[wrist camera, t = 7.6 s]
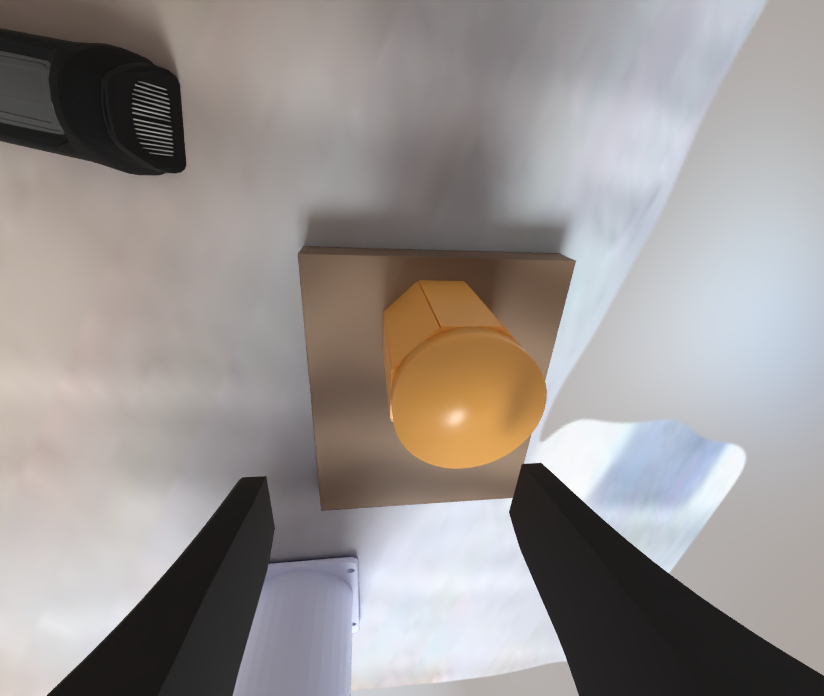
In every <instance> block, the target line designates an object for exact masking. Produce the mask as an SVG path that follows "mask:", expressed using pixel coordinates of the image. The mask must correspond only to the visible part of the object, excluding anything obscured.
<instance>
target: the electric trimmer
mask: <svg viewBox="0 0 824 696" xmlns="http://www.w3.org/2000/svg"><path fill="white" fill-rule="evenodd" d="M0 141H3V142H7V143H11V144H16V145H20V146H25V147H29V148H34V149H38V150H43V151H47V152H52V153H56V154H61V155H65V156H70V157H74V158H78V159H83V160H87V161H92V162H95V163H99V164H102V165H105V166H108V167H111V168H114V169H117V170H120V171H123V172H126V173H129V174H135V175H162V174H164V173H179V172H182V171H183V170H184V169H185V167H186V155H185V142H184V130H183V117H182V105H181V93H180V84H179V82H178V80H177V78H176V76H175V75H173V74H172V73H171V72H170V71H169V70H166V69H164V68H161V67H158V66H155V65H154V64H153V63H152V62H151V61H150V60H148V59H146V58H144V57H142V56H140V55H137V54H135V53H133V52H130V51H128V50H126V49H123V48H119V47H116V46H112V45H108V44H98V43H78V42H70V41H65V40H60V39H54V38H49V37H43V36H38V35H33V34H27V33H22V32H17V31H11V30H6V29H0Z"/></svg>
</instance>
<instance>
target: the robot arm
mask: <svg viewBox="0 0 824 696" xmlns="http://www.w3.org/2000/svg"><path fill="white" fill-rule="evenodd" d="M509 513H510V517H511V520H512V524H513V527H514V531H515V534H516V537H517V540H518V543H519V547H520V549H521V552H522V554H523V557H524V559H525V561H526V564H527V566H528V568H529V571H530V573H531V575H532V578H533V580H534V582H535V585H536V587H537V589H538V592H539V594H540V596H541V598H542V601H543V603H544V605H545V608H546V610H547V612H548V615H549V617H550V619H551V621H552V624H553V626H554V628H555V631H556V633H557V635H558V638H559V640H560V643H561V645H562V648H563V651H564V653H565V656H566V659H567V662H568V664H569V667H570V670H571V673H572V676H573V679H574V682H575V685H576V688H577V691H578V694H579V696H824V676H823V675H822V674H820V673H818V672H817V671H815V670H813V669H811V668H810V667H808V666H806V665H805V664H803V663H802V662H800V661H798V660H797V659H795V658H793V657H791V656H790V655H788V654H786V653H785V652H783V651H782V650H780V649H779V648H777V647H775V646H774V645H772V644H770V643H769V642H767V641H766V640H764V639H763V638H761V637H759V636H758V635H756V634H755V633H753V632H752V631H750V630H748V629H747V628H745V627H744V626H743V625H741V624H740V623H738V622H737V621H735V620H733V619H732V618H731V617H729V616H728V615H726V614H724V613H723V612H722V611H720V610H719V609H717V608H715V607H714V606H713V605H711V604H710V603H709V602H707V601H706V600H704V599H703V598H701V597H700V596H698V595H697V594H696V593H694V592H693V591H692V590H690V589H689V588H688V587H686V586H685V585H683V584H682V583H681V582H680V581H678V580H677V579H675V578H674V577H673V576H671V575H670V574H669V573H667V572H666V571H665V570H663V569H662V568H661V567H660V566H658V565H657V564H656V563H654V562H653V561H652V560H651V559H649V558H648V557H647V556H646V555H644V554H643V553H642V552H641V551H640V550H638V549H637V548H636V547H635V546H633V545H632V544H631V543H630V542H629V541H627V540H626V539H625V538H624V537H623V536H621V535H620V534H619V533H618V532H617V531H616V530H614V529H613V528H612V527H611V526H610V525H609V524H607V523H606V522H605V521H604V520H603V519H602V518H601V517H600V516H598V515H597V514H596V513H595V512H594V511H593V510H592V509H591V508H590V507H588V506H587V505H586V504H585V503H584V502H583V501H582V500H581V499H580V498H579V497H578V496H576V495H575V494H574V493H573V492H572V491H571V490H570V489H569V488H568V487H567V486H566V485H565V484H564V483H562V482H561V481H560V480H559V479H558V478H557V477H556V476H555V475H554V474H553V473H552V472H551V471H550V470H548V469H547V468H546V467H545V466H544V465H543V464H542V463H533V464H522V465H521V469H520V473H519V476H518V480H517V484H516V488H515V492H514V496H513V499H512V503H511V507H510V511H509ZM274 529H275V527H274V521H273V514H272V508H271V502H270V496H269V490H268V484H267V478H266V476H264V477H243V478H241V479H240V480H239V481H238V482H237V484H236V485H235V486H234V488H233V489H232V490H231V492H230V493H229V495H228V496H227V497H226V499H225V500H224V501H223V503H222V504H221V505H220V507H219V508H218V509H217V510H216V512H215V513H214V514H213V516H212V517H211V518H210V519H209V521H208V522H207V523H206V525H205V526H204V527H203V528H202V530H201V531H200V532H199V533H198V535H197V536H196V537H195V538H194V539H193V541H192V542H191V543H190V544H189V546H188V547H187V548H186V549H185V551H184V552H183V553H182V554H181V555H180V557H179V558H178V559H177V560H176V561H175V563H174V564H173V565H172V566H171V567H170V568H169V569H168V571H167V572H166V573H165V574H164V575H163V576H162V577H161V578H160V580H159V581H158V582H157V583H156V584H155V585H154V586H153V588H152V589H151V590H150V591H149V592H148V593H147V594H146V595H145V597H144V598H143V599H142V600H141V601H140V602H139V603H138V604H137V605H136V606H135V608H134V609H133V610H132V611H131V612H130V613H129V614H128V615H127V616H126V617H125V618H124V619H123V620H122V621H121V622H120V623H119V625H118V626H117V627H116V628H115V629H114V630H113V631H112V632H111V633H110V634H109V635H108V636H107V637H106V638H105V639H104V640H103V641H102V642H101V643H100V644H99V645H98V646H97V647H96V648H95V649H94V650H93V651H92V652H91V653H90V654H89V655H88V656H87V657H86V658H85V659H84V660H83V661H82V662H81V663H80V664H79V665H78V666H77V667H76V668H75V669H74V670H73V671H72V672H71V673H69V674H68V675H67V676H66V677H65V678H64V679H63V680H62V681H61V682H60V683H59V684H58V685H57V686H56V687H55V688H54V689H53V690H52V691H51V692H50V693H49V694H48V695H47V696H351V659H352V634H355V633H357V632H358V631H359V591H358V560H357V559H356V558H354V557H344V558H332V559H320V560H308V561H297V562H285V563H273V564H269V559H270V553H271V547H272V541H273V535H274Z"/></svg>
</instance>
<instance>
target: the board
mask: <svg viewBox="0 0 824 696" xmlns="http://www.w3.org/2000/svg"><path fill="white" fill-rule="evenodd" d="M298 261H299V272H300V283H301V294H302V305H303V316H304V327H305V338H306V349H307V360H308V371H309V382H310V393H311V404H312V415H313V426H314V437H315V448H316V459H317V470H318V481H319V492H320V503H321V511H323V510H338V509H353V508H368V507H383V506H397V505H412V504H427V503H442V502H457V501H472V500H487V499H502V498H513V496H514V492H515V488H516V484H517V480H518V476H519V473H520V469H521V465H522V464H524V461H525V457H526V453H527V449H528V445H529V441H530V437H531V435H530V436H529V437H528V438H527V439H526V440H525V441H524V442H523V443H522V444H521V445H520V446H519V447H517V448H516V449H515V450H513V451H512V452H510V453H509V454H507V455H506V456H504V457H502V458H500V459H498V460H496V461H493V462H491V463H488V464H484V465H481V466H477V467H472V468H463V469H452V468H443V467H438V466H434V465H431V464H428V463H426V462H424V461H422V460H420V459H418V458H417V457H415V456H414V455H412V454H411V453H410V452H409V451H408V450H407V449H406V448H405V447H404V446H403V444H402V443H401V441H400V440H399V438H398V436H397V433H396V431H395V427H394V423H393V422H392V421H391V419H390V414H389V405H388V396H387V386H386V377H385V368H384V358H383V314H384V311H385V310H386V309H387V308H388V307H389V306H390V305H392V304H393V303H394V302H395V301H396V300H397V299H398V298H399V297H400V296H401V295H402V294H404V293H405V292H406V291H407V290H408V289H409V288H410V287H411V286H412V285H413V284H414V283H416V282H417V281H418V282H419V280H432V281H464V282H466V283H467V284H468V286H469V287H470V288H471V289H472V290H473V291H474V292H475V294H476V295H477V296H478V297H479V298H480V299H481V300H482V302H483V303H484V304H485V305H486V306H487V307H488V308H489V310H490V311H491V312H492V313H493V314H494V315H495V316H496V318H497V319H498V320H499V321H500V322H501V323H502V324H503V326H504V327H505V328H506V329H507V330H508V331H509V333H510V334H511V335H512V336H513V337H514V338H515V339H516V341H517V342H518V343H519V344H520V345H521V346H522V348H523V349H524V350H525V351H526V352H527V353H528V354H529V356H530V357H531V358H532V359H533V360H534V361H535V363H536V364H537V365H538V367H539V368H540V370H541V372H542V374H543V377H544V380H545V379H546V375H547V371H548V367H549V363H550V359H551V355H552V352H553V348H554V344H555V340H556V336H557V332H558V328H559V324H560V320H561V317H562V313H563V309H564V305H565V301H566V297H567V293H568V289H569V285H570V282H571V278H572V274H573V270H574V266H575V262H576V261H575V260H573V259H570V258H568V257H566V256H564V255H562V254H557V253H521V252H484V251H448V250H411V249H375V248H339V247H303V248H302V249H301V250H300V252H299V253H298Z"/></svg>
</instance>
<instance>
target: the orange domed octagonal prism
mask: <svg viewBox="0 0 824 696" xmlns="http://www.w3.org/2000/svg"><path fill="white" fill-rule="evenodd" d="M383 358H384V368H385V377H386V386H387V396H388V405H389V414H390V419H391V421H392V422H393V423H394V427H395V431H396V433H397V436H398V438H399V440H400V441H401V443H402V444H403V446H404V447H405V448H406V449H407V450H408V451H409V452H410V453H411V454H412V455H414V456H415V457H417V458H418V459H420V460H422V461H424V462H426V463H428V464H431V465H434V466H438V467H443V468H452V469H463V468H472V467H477V466H481V465H484V464H488V463H491V462H493V461H496V460H498V459H500V458H502V457H504V456H506V455H507V454H509V453H510V452H512V451H513V450H515V449H516V448H517V447H519V446H520V445H521V444H522V443H523V442H524V441H525V440H526V439H527V438H528V437H529V436H530V435H531V433H532V432H533V431H534V429H535V428H536V426H537V425H538V423H539V421H540V419H541V417H542V415H543V412H544V409H545V404H546V394H547V391H546V383H545V380H544V377H543V374H542V372H541V370H540V368H539V367H538V365H537V364H536V363H535V361H534V360H533V359H532V358H531V357H530V356H529V354H528V353H527V352H526V351H525V350H524V349H523V348H522V346H521V345H520V344H519V343H518V342H517V341H516V339H515V338H514V337H513V336H512V335H511V334H510V333H509V331H508V330H507V329H506V328H505V327H504V326H503V324H502V323H501V322H500V321H499V320H498V319H497V318H496V316H495V315H494V314H493V313H492V312H491V311H490V310H489V308H488V307H487V306H486V305H485V304H484V303H483V302H482V300H481V299H480V298H479V297H478V296H477V295H476V294H475V292H474V291H473V290H472V289H471V288H470V287H469V286H468V284H467V283H466V282H464V281H432V280H419V282H418V281H417V282H416V283H414V284H413V285H412V286H411V287H410V288H409V289H408V290H407V291H406V292H405V293H404V294H402V295H401V296H400V297H399V298H398V299H397V300H396V301H395V302H394V303H393V304H392V305H390V306H389V307H388V308H387V309H386V310H385V311H384V314H383Z"/></svg>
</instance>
